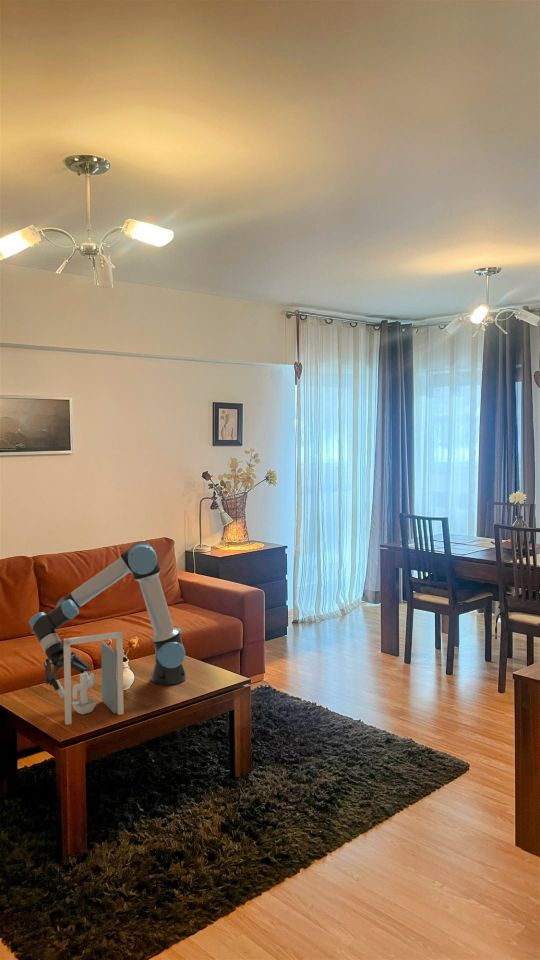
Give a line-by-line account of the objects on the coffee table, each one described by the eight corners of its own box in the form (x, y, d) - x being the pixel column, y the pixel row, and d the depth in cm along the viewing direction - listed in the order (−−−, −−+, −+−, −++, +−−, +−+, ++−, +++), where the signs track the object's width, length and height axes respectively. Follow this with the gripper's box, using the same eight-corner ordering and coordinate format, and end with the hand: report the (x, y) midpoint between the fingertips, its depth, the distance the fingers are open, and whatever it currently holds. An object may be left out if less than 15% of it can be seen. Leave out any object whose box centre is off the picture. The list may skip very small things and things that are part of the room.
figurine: (68, 712, 271) (67, 674, 270) (89, 706, 278) (88, 669, 277) (78, 717, 266) (78, 678, 266) (99, 710, 273) (99, 672, 273)
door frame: (122, 712, 271) (120, 631, 270) (123, 713, 269) (122, 632, 268) (64, 723, 260) (63, 638, 259) (66, 724, 259) (64, 640, 257)
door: (120, 711, 270) (119, 651, 269) (113, 713, 269) (112, 652, 268) (108, 699, 284) (107, 641, 284) (102, 700, 283) (101, 642, 282)
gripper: (74, 645, 293) (98, 687, 285) (22, 659, 272) (47, 705, 264) (82, 635, 289) (106, 677, 281) (30, 648, 269) (55, 694, 261)
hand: (77, 691), depth 273 cm, fingers open, 13 cm apart
